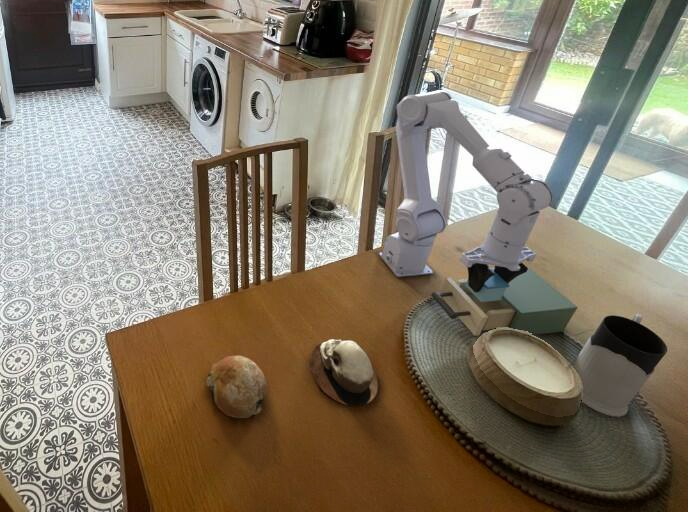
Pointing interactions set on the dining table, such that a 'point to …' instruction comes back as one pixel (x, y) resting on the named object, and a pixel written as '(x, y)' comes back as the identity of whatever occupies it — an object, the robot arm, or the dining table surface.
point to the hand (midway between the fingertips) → (484, 287)
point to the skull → (344, 372)
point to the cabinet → (537, 304)
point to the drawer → (473, 307)
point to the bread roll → (237, 386)
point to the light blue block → (491, 289)
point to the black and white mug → (617, 363)
